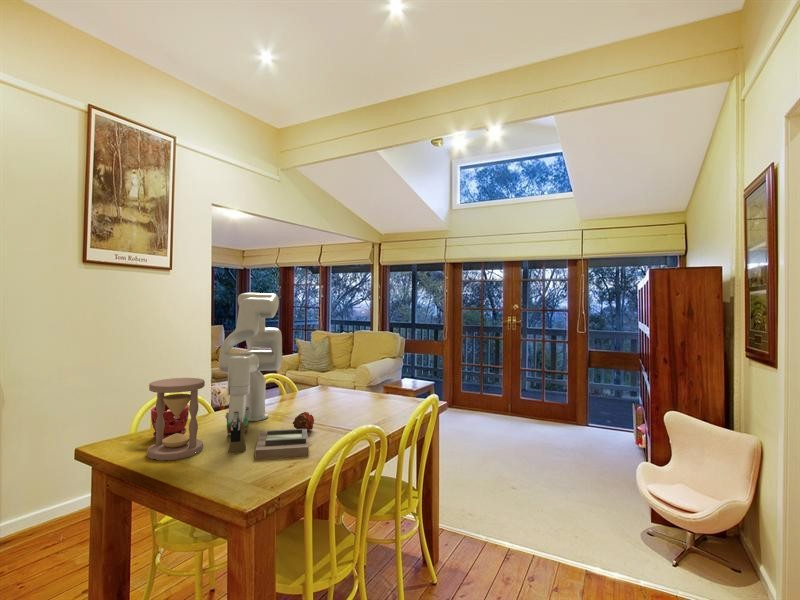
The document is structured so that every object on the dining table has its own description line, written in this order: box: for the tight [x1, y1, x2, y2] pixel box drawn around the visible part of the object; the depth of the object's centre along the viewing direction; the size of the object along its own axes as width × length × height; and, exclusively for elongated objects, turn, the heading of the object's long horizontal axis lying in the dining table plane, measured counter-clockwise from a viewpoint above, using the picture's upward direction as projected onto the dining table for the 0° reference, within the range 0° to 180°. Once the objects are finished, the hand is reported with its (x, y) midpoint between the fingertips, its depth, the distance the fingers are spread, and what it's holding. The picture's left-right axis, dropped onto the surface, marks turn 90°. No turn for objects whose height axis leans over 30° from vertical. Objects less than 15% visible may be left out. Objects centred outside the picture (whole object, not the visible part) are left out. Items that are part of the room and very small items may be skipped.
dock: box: [254, 428, 310, 460], centre depth 155 cm, size 22×18×4 cm
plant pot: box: [150, 403, 190, 439], centre depth 165 cm, size 13×13×12 cm
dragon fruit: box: [292, 411, 315, 431], centre depth 176 cm, size 8×8×12 cm
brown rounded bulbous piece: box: [227, 420, 247, 455], centre depth 150 cm, size 6×6×11 cm
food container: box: [225, 406, 251, 438], centre depth 169 cm, size 12×6×10 cm, turn 168°
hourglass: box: [146, 377, 206, 461], centre depth 148 cm, size 18×18×25 cm
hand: (237, 437), depth 150 cm, fingers open, 9 cm apart
